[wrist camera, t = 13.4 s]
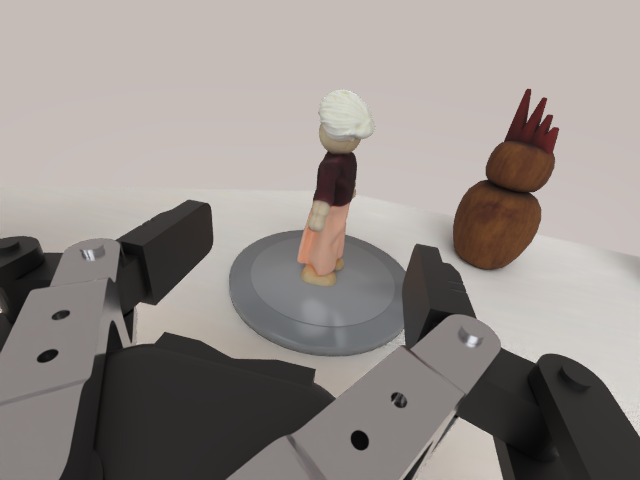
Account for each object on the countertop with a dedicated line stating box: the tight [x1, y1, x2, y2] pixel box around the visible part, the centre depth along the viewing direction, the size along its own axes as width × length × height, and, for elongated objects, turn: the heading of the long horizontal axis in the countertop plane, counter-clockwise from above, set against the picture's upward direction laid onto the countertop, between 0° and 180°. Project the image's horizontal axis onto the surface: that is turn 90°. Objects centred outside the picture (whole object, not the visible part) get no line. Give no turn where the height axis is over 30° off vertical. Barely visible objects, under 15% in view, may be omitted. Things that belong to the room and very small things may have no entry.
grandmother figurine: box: [297, 90, 375, 287], centre depth 20 cm, size 8×4×13 cm, turn 170°
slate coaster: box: [229, 230, 406, 356], centre depth 23 cm, size 14×14×1 cm
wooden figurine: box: [453, 89, 559, 270], centre depth 26 cm, size 7×6×15 cm
